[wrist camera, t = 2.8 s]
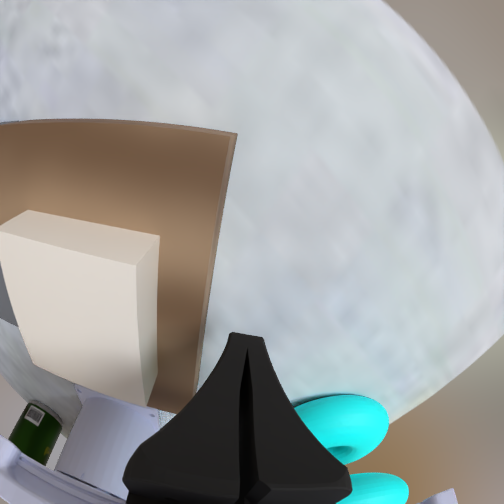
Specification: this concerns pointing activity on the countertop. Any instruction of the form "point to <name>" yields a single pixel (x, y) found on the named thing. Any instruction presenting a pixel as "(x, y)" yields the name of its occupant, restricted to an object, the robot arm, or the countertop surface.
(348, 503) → the donuts
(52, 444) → the beer can
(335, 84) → the countertop surface
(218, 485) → the robot arm
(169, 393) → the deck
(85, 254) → the tile
